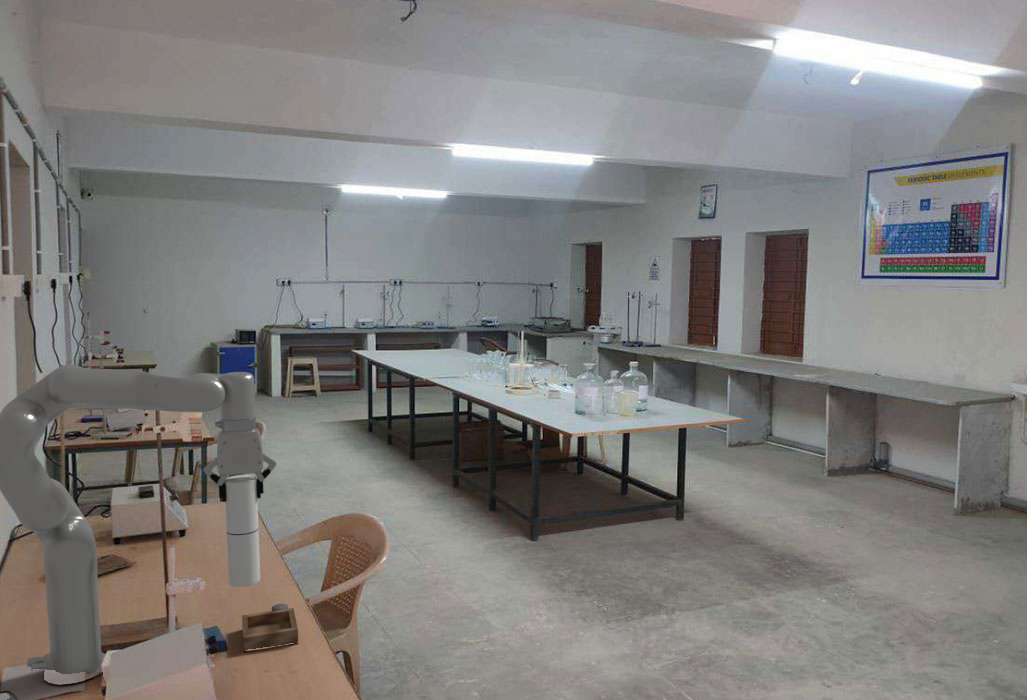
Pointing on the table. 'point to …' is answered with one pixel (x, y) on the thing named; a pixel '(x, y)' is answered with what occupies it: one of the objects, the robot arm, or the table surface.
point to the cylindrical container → (242, 530)
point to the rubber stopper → (279, 607)
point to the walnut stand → (269, 629)
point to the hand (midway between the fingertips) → (241, 498)
